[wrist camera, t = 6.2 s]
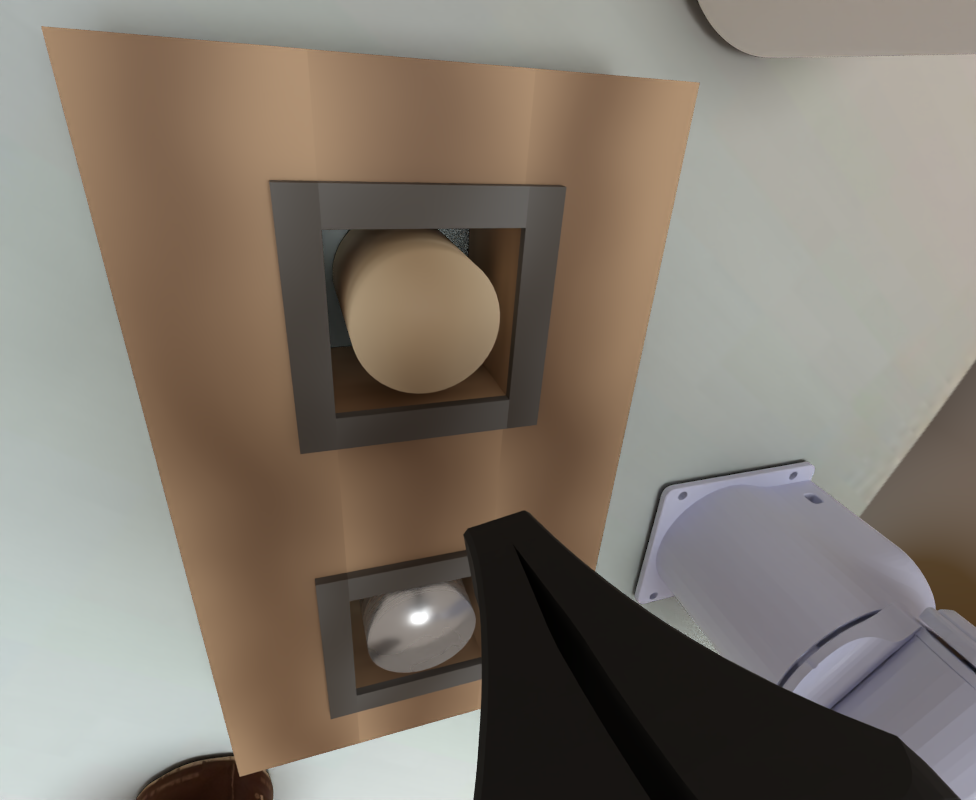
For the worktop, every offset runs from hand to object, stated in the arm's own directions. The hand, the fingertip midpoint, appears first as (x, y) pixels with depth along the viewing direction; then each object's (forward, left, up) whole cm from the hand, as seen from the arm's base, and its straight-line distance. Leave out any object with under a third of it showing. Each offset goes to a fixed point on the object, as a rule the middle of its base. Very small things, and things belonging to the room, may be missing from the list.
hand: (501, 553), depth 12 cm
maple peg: (0, -3, -10) cm, 11 cm away
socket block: (0, +3, -10) cm, 11 cm away
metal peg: (0, +9, -10) cm, 14 cm away
